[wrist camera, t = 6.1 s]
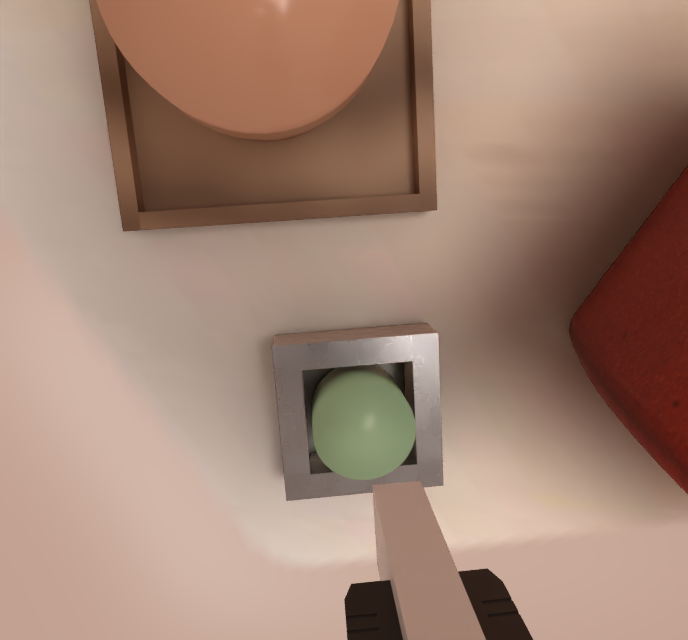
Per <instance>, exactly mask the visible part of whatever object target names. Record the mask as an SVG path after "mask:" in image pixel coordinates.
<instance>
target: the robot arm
mask: <svg viewBox="0 0 688 640" xmlns="http://www.w3.org/2000/svg"><path fill="white" fill-rule="evenodd" d="M373 500H374V517H375V534H376V551H377V564H378V570H379V575H380V580H381V581H375V582H365V583H357V584H351V586H350V588H349V590H348V593H347V595H346V597H345V613H346V624H347V625H346V626H347V638H348V640H533V639H532V637H531V635H530V633H529V631H528V629H527V627H526V625H525V623H524V621H523V619H522V618H521V616H520V615H519V613H518V610H517V608H516V606H515V604H514V603H513V601H512V600H511V597H510V595H509V593H508V591H507V589H506V587H505V585H504V583H503V582H502V581H501V580H500V579H499V578H498V577H497V576H495V575H494V574H493V573H492V572H491V571H489V569H479V570H470V571H460V572H458V571H457V568H456V566H455V563H454V561H453V559H452V556H451V554H450V551H449V549H448V546H447V544H446V542H445V539H444V537H443V534H442V532H441V529H440V527H439V525H438V522H437V520H436V517H435V515H434V512H433V510H432V508H431V505H430V503H429V500H428V498H427V496H426V493H425V491H424V488H423V486H422V483H421V481H413V482H402V483H391V484H381V485H373Z"/></svg>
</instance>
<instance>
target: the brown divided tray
mask: <svg viewBox="0 0 688 640" xmlns="http://www.w3.org/2000/svg"><path fill="white" fill-rule="evenodd" d="M90 7H91V14H92V21H93V28H94V35H95V42H96V49H97V55H98V62H99V69H100V76H101V83H102V90H103V97H104V104H105V111H106V117H107V124H108V131H109V138H110V145H111V152H112V159H113V166H114V172H115V179H116V186H117V193H118V200H119V207H120V214H121V221H122V228H123V231H136V230H150V229H165V228H180V227H195V226H210V225H225V224H239V223H254V222H269V221H284V220H299V219H314V218H328V217H343V216H358V215H373V214H388V213H403V212H417V211H431V210H437V194H436V162H435V131H434V99H433V68H432V36H431V4H430V0H399V3H398V6H397V10H396V14H395V18H394V22H393V24H392V27H391V29H390V32H389V34H388V37H387V39H386V42H385V44H384V46H383V49H382V51H381V53H380V55H379V58H378V60H377V62H376V64H375V66H374V68H373V70H372V72H371V74H370V76H369V77H368V79H367V81H366V82H365V84H364V85H363V87H362V88H361V89H360V91H359V92H358V93H357V95H356V96H355V97H354V98H353V99H352V100H351V101H350V102H349V103H348V104H347V105H346V106H345V107H344V108H343V109H342V110H341V111H339V112H338V113H337V114H336V115H334V116H333V117H332V118H330V119H329V120H327V121H325V122H324V123H322V124H320V125H319V126H317V127H315V128H313V129H311V130H310V131H308V132H306V133H304V134H302V135H299V136H297V137H294V138H290V139H286V140H278V141H266V140H259V139H246V138H239V137H234V136H230V135H227V134H223V133H220V132H217V131H215V130H212V129H210V128H208V127H205V126H203V125H201V124H199V123H198V122H196V121H194V120H193V119H191V118H189V117H188V116H186V115H185V114H184V113H182V112H181V111H180V110H178V109H177V108H176V107H175V106H173V105H172V104H171V103H170V102H169V101H167V100H166V99H165V98H164V97H163V96H162V95H160V94H159V93H158V92H157V91H156V90H155V89H154V88H152V87H151V86H150V85H149V84H148V83H147V82H146V81H145V80H144V79H143V78H142V77H141V76H140V75H139V74H138V73H137V72H136V71H135V69H134V68H133V67H132V66H131V64H130V63H129V62H128V61H127V59H126V58H125V57H124V56H123V54H122V53H121V51H120V50H119V48H118V46H117V45H116V43H115V41H114V40H113V38H112V37H111V35H110V33H109V31H108V29H107V26H106V24H105V22H104V20H103V18H102V16H101V13H100V10H99V7H98V4H97V1H96V0H90Z"/></svg>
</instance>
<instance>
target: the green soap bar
mask: <svg viewBox="0 0 688 640" xmlns="http://www.w3.org/2000/svg"><path fill="white" fill-rule="evenodd" d="M312 434H313V443H314V446H315V449H316V451H317V454H318V456H319V457H320V459H321V460H322V461H323V463H324V464H325V465H326V466H327V467H328V468H329V469H331V470H332V471H334V472H335V473H337V474H339V475H341V476H343V477H346V478H350V479H355V480H370V479H375V478H379V477H382V476H384V475H386V474H388V473H390V472H392V471H393V470H395V469H396V468H397V467H398V466H399V465H401V464H402V463H403V461H404V460H405V459H406V458H407V456H408V455H409V453H410V451H411V449H412V447H413V444H414V441H415V435H416V423H415V418H414V414H413V412H412V409H411V407H410V406H409V404H408V402H407V400H406V399H405V397H404V395H403V393H402V391H401V390H400V388H399V386H398V384H397V383H396V381H395V380H394V379H393V377H392V376H391V375H390V374H389V373H387V372H386V371H385V370H383V369H381V368H380V367H378V366H375V365H361V366H349V367H337V368H336V369H334V370H332V371H331V372H329V373H328V374H327V375H326V376H325V377H324V378H323V379H322V380H321V382H320V383H319V384H318V386H317V388H316V390H315V392H314V395H313V399H312Z"/></svg>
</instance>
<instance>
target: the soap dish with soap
mask: <svg viewBox="0 0 688 640" xmlns="http://www.w3.org/2000/svg"><path fill="white" fill-rule="evenodd" d="M272 354H273V364H274V375H275V385H276V396H277V406H278V417H279V427H280V438H281V448H282V459H283V469H284V480H285V490H286V500H287V501H290V500H300V499H311V498H321V497H331V496H341V495H351V494H361V493H372V492H373V485H381V484H391V483H402V482H413V481H421V483H422V486H423V487H432V486H443V461H442V430H441V399H440V368H439V338H438V332H437V331H436V330H434V329H433V328H432V327H431V326H430V325H428V324H427V323H420V324H407V325H395V326H382V327H370V328H357V329H345V330H332V331H320V332H307V333H295V334H282V335H275V336H274V340H273V344H272ZM396 362H404V373H405V395H406V400H407V402H408V404H409V406H410V407H411V409H412V412H413V414H414V418H415V423H416V435H415V441H414V444H413V447H412V449H411V451H410V453H409V455H408V456H407V458H406V459H405V460H404V461H403V463H402V464H401V465H399V466H398V467H397V468H396V469H395V470H393V471H392V472H390V473H388V474H386V475H384V476H382V477H379V478H375V479H370V480H355V479H350V478H346V477H343V476H341V475H339V474H337V473H335V472H334V471H332V470H331V469H329V468H328V467H327V466H326V465H325V464H324V463H323V461H322V460H321V459H320V457H319V456H318V454H317V452H312V453H310V447H309V435H308V423H307V412H306V400H305V388H304V376H303V370H313V369H325V368H337V367H349V366H361V365H373V364H385V363H396Z"/></svg>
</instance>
